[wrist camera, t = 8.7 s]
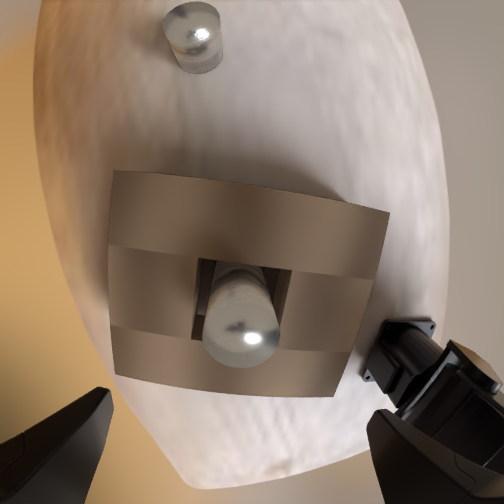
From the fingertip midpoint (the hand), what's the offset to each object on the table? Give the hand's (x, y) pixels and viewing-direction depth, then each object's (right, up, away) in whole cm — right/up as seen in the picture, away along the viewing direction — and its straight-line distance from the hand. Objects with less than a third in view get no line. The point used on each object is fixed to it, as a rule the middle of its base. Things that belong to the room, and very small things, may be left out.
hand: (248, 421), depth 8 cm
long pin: (-1, +4, +12) cm, 13 cm away
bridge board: (-1, +4, +12) cm, 13 cm away
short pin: (-4, +19, +8) cm, 21 cm away
